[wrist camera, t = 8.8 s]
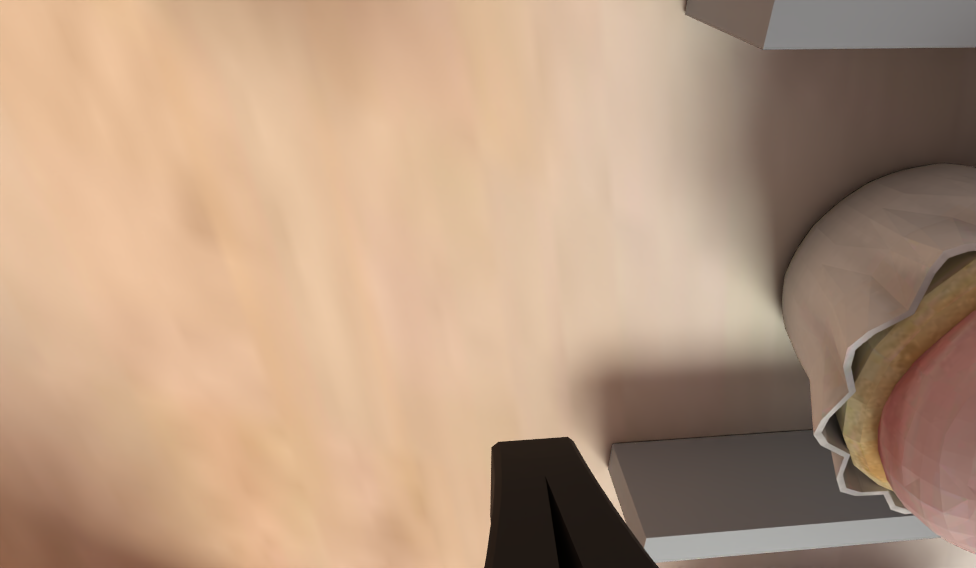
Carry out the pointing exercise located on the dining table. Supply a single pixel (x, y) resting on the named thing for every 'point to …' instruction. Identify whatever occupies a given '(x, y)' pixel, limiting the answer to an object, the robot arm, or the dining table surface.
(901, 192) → the cupcake
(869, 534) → the bay
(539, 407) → the dining table surface
